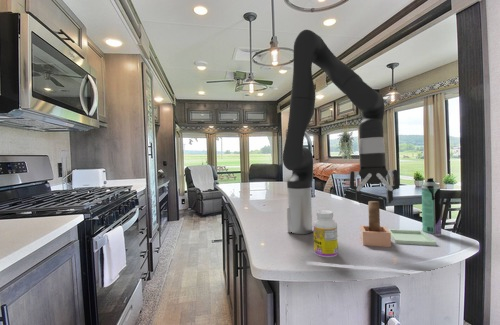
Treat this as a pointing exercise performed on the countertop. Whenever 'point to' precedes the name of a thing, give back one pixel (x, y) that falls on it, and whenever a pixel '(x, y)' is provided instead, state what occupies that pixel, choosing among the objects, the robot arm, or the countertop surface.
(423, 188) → the spray can
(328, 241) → the supplement bottle
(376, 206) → the dowel
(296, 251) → the countertop surface
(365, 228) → the peach planter box
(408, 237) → the tray
